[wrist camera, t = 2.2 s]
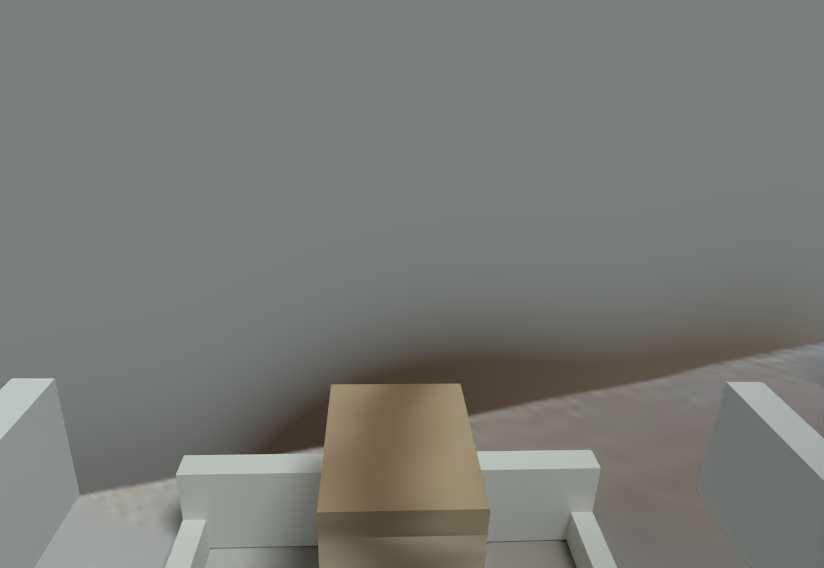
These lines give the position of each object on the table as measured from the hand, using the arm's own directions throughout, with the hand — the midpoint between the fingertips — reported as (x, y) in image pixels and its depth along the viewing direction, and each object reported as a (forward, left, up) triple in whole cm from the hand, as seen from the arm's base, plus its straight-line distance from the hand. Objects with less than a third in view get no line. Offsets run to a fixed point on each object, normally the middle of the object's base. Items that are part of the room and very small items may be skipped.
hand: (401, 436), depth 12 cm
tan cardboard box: (-1, -10, -19) cm, 21 cm away
